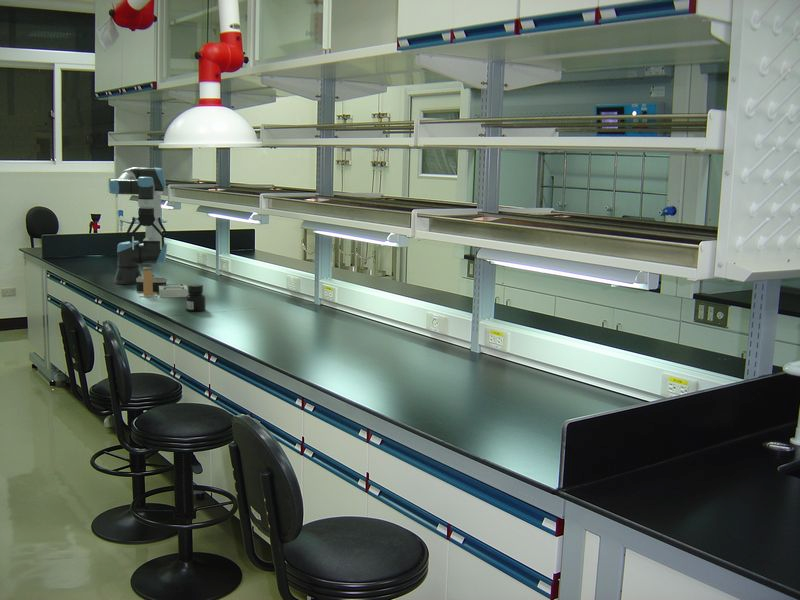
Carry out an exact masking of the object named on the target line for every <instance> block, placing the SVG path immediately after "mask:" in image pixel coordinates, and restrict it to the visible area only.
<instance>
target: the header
mask: <svg viewBox="0 0 800 600" xmlns="http://www.w3.org/2000/svg"><path fill="white" fill-rule="evenodd" d="M188 294H189V293H188V285H187V284H183V283H181V284H178V285H177V284H176V285H173V284H172V285H171V284H170V285H167V284H166V285H165V284H163V286H159V293H158V295H159V298H186V296H187V295H188Z"/></svg>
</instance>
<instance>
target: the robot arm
mask: <svg viewBox="0 0 800 600" xmlns="http://www.w3.org/2000/svg"><path fill="white" fill-rule="evenodd" d="M165 175H166V174H165V171H164V169H163V168H161V167H139V166H136V167H135V166H133V167H129V168H126V169H123V170H121V172H119V174H118V175H117V179H116V178H114V179H110V180H109V181H108V182H109V183H108V186H109V187H108V188H109V193H110V194H112V195H134V196H136V195H138V196H137V200H138V217H134V216H133V217H132V218H131V222H130V224H129V227H128V229H127V231H126V233H125V235H126V236H128V237H129V241H128V240H127V241H123V242H119V243H118V244H117V248H116V250H117V251H116V252H117V270H116V273H115V277H114V283H115V284H118V285H136V278H138V277H139V276H141V278H143V273H141V269H140V265H163V264H165V262H166V258H167V257H166V256H167V251H168V244H167V243H166V242H165V237H166V236H168V231H167V230H166V228H165V227H164V224H163V223H162V194H163V193H164V191H165V190H166V189H167V183H166V177H165ZM137 221H138V225H136V227H135V228H134V229H133V230H132V228H133V226H134V225H135V223H136V222H137ZM142 226H143V227H145V238H143V240H142V243H140V241H139V240H135V237H134V234H136V232H137V231H138V230H139V229H140V228H141V227H142ZM130 232H131V233H130Z"/></svg>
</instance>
